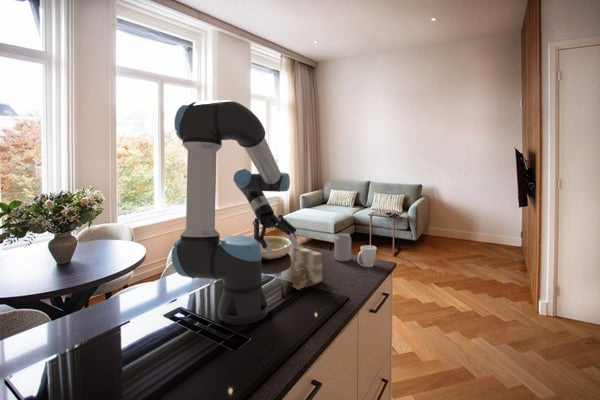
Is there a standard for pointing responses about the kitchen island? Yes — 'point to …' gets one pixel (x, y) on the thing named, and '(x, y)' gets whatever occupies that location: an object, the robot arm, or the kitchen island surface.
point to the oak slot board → (301, 278)
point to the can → (342, 247)
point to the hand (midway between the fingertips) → (284, 250)
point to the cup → (367, 255)
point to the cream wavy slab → (309, 263)
